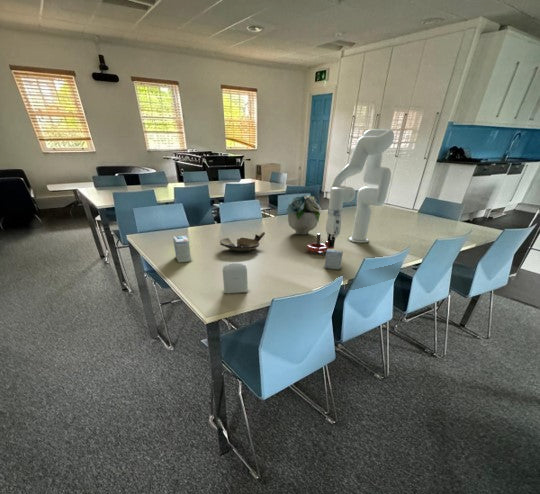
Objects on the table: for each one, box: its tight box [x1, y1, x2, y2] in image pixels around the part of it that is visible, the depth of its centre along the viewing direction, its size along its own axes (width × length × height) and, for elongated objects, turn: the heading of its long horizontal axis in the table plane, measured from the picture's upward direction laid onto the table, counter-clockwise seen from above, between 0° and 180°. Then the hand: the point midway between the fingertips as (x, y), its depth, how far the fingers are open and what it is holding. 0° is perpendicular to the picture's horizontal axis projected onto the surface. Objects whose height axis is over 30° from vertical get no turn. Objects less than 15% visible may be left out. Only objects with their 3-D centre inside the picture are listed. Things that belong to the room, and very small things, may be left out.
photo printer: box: [222, 262, 249, 294], centre depth 130 cm, size 10×4×12 cm, turn 100°
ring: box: [306, 240, 335, 252], centre depth 183 cm, size 16×12×4 cm
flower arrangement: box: [285, 194, 323, 235], centre depth 214 cm, size 25×25×24 cm
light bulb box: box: [172, 235, 192, 263], centre depth 165 cm, size 11×7×11 cm, turn 23°
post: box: [306, 232, 326, 256], centre depth 182 cm, size 10×10×10 cm
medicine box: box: [323, 249, 344, 271], centre depth 159 cm, size 8×4×9 cm, turn 71°
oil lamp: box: [219, 231, 266, 252], centre depth 183 cm, size 22×30×8 cm
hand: (330, 245), depth 185 cm, fingers closed on ring, 2 cm apart
